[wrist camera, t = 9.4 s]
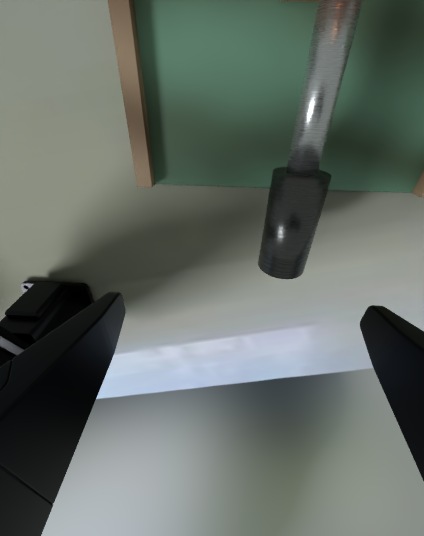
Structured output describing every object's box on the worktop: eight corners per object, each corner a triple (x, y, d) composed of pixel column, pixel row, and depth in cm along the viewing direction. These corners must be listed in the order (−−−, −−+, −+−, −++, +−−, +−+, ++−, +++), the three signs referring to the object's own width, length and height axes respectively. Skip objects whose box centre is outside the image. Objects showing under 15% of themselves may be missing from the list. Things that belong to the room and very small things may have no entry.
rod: (295, 241, 19) (320, 294, 14) (249, 240, 19) (258, 291, 14) (377, -81, 10) (530, -262, 5) (290, -81, 10) (354, -259, 5)
